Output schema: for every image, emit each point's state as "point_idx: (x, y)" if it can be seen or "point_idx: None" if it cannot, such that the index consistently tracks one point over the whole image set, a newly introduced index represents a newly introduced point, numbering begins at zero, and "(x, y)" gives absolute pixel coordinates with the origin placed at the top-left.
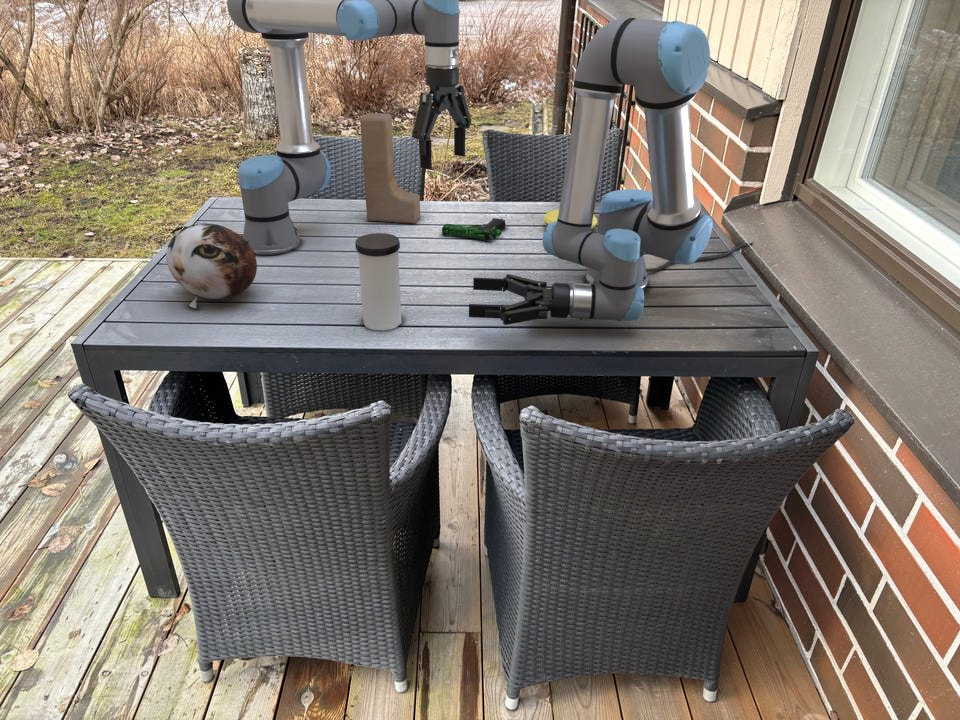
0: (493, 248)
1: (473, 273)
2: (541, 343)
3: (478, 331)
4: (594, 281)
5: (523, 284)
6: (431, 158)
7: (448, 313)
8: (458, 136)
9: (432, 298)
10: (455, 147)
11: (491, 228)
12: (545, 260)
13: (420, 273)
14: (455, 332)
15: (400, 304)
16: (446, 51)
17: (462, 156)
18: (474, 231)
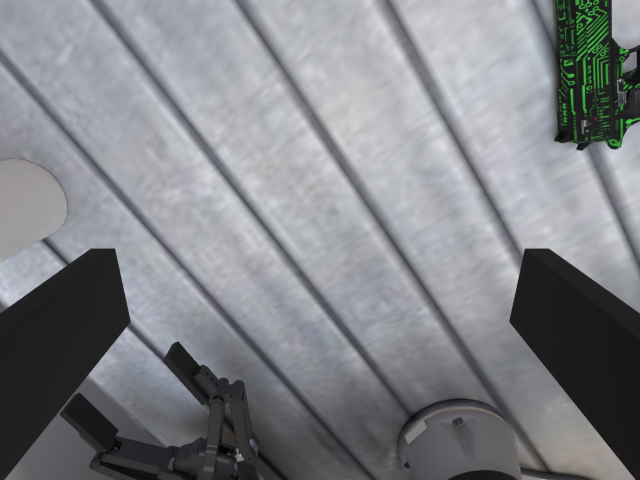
0: (518, 171)
1: (347, 216)
2: (180, 438)
3: (140, 355)
4: (407, 440)
5: (216, 438)
6: (89, 370)
7: (153, 281)
8: (620, 386)
9: (181, 217)
10: (556, 288)
11: (620, 119)
12: (499, 306)
13: (269, 107)
14: None
15: (27, 247)
16: None
17: (511, 315)
18: (573, 89)
